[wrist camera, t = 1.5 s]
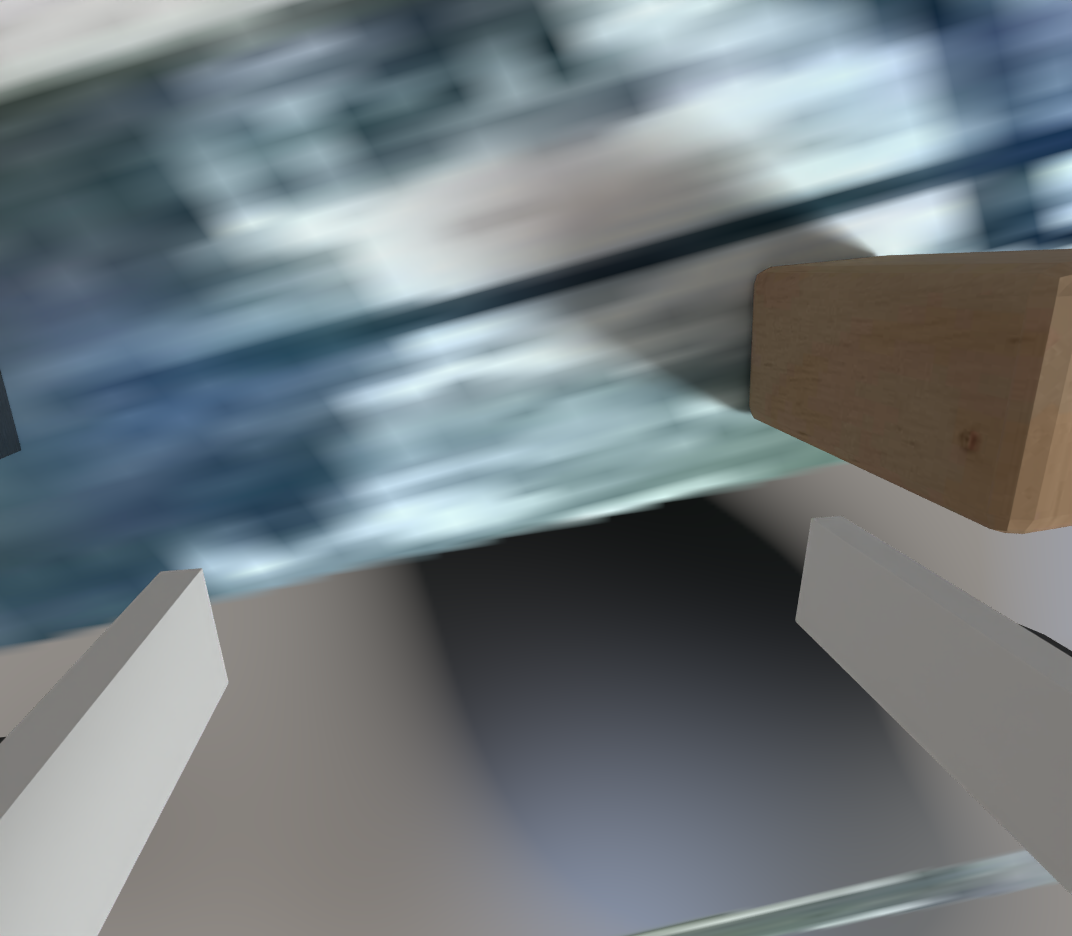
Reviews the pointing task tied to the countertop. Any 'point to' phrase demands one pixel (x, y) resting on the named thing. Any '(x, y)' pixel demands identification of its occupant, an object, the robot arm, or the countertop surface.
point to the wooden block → (928, 375)
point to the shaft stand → (7, 426)
